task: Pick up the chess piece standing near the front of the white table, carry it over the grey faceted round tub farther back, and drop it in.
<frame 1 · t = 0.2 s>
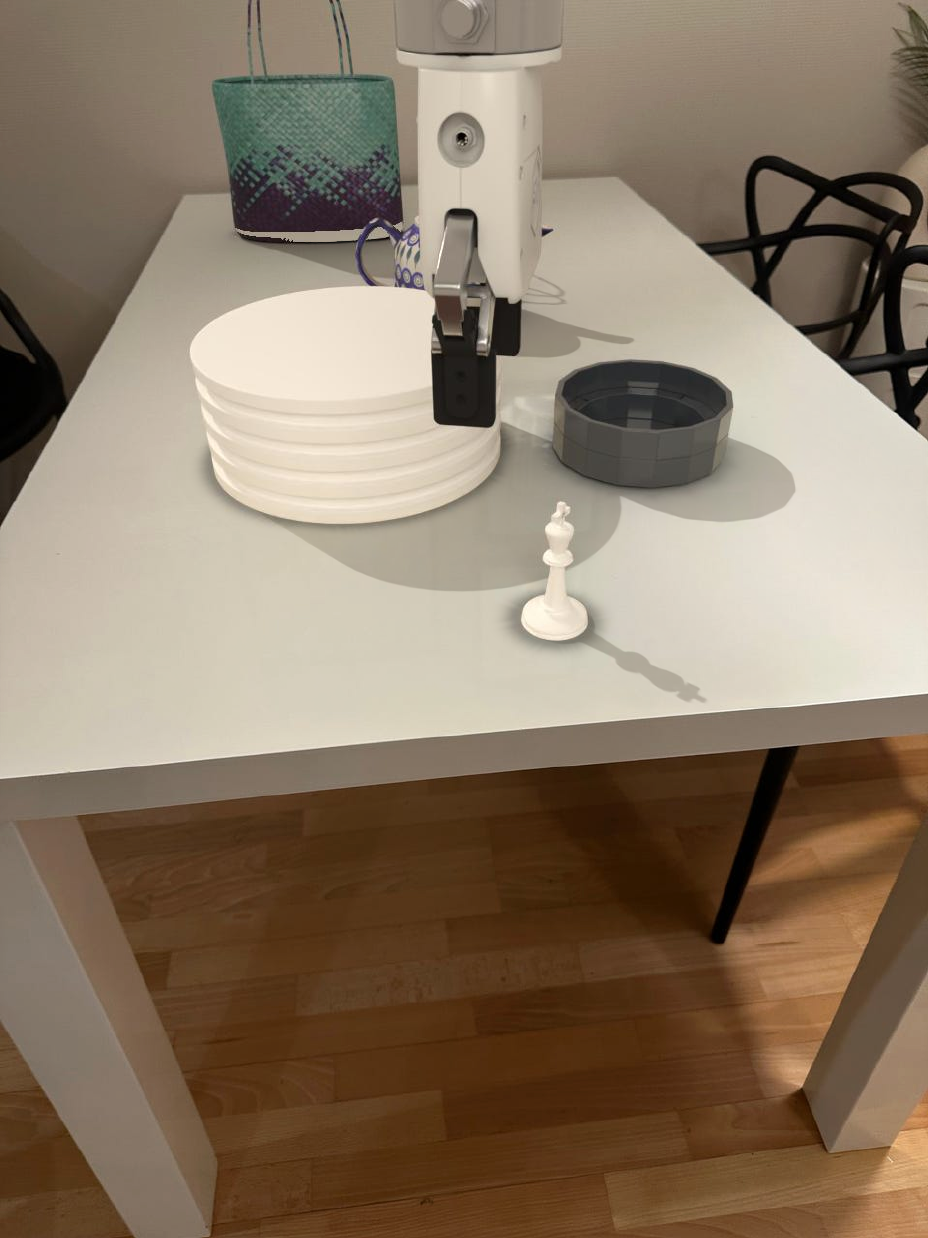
hand: (480, 385, 50), 20 cm above the table, tool pointing down, fingers open, 9 cm apart
basket: (320, 235, 150), on the table
plate stack: (358, 451, 88), on the table
teapot: (454, 316, 118), on the table
grey faceted round tub: (636, 450, 87), on the table
chess piece: (554, 622, 66), on the table
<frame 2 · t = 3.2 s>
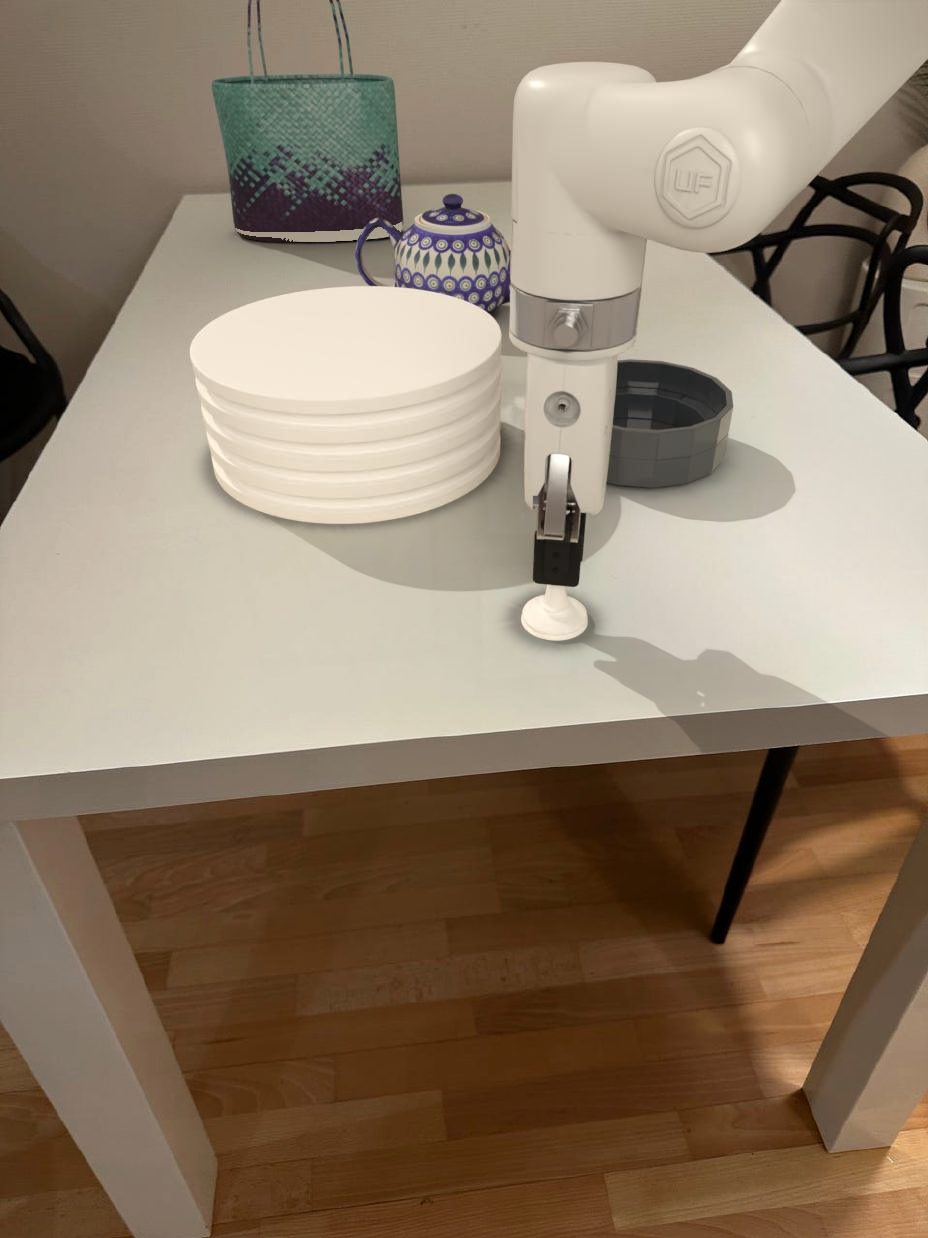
hand: (558, 569, 63), 5 cm above the table, tool pointing down, fingers closed on chess piece
chess piece: (554, 622, 66), on the table, touching gripper
everything else where it was.
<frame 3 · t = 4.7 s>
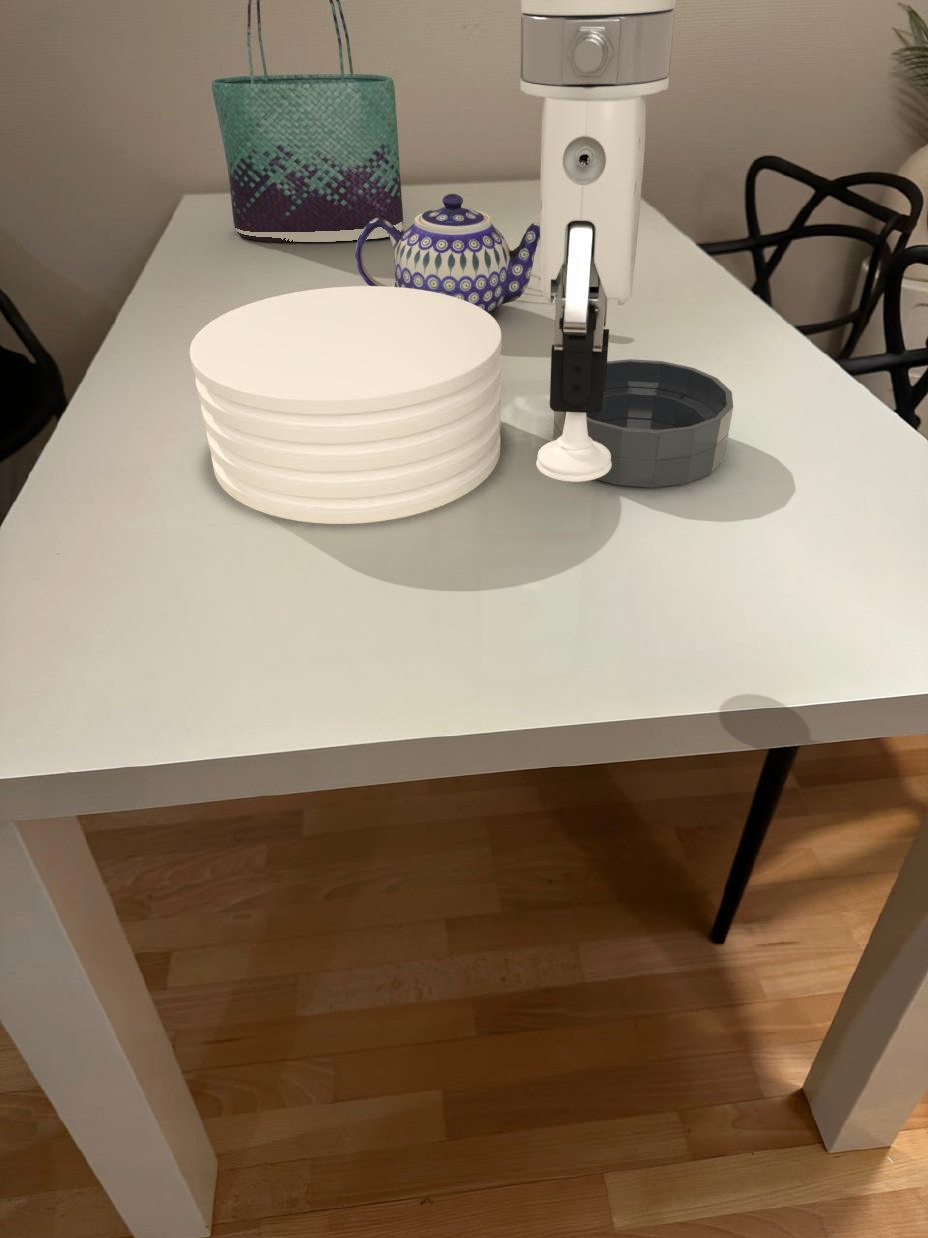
hand: (577, 398, 56), 17 cm above the table, tool pointing down, fingers closed on chess piece
chess piece: (573, 466, 59), point 12 cm above the table, touching gripper
everything else where it was.
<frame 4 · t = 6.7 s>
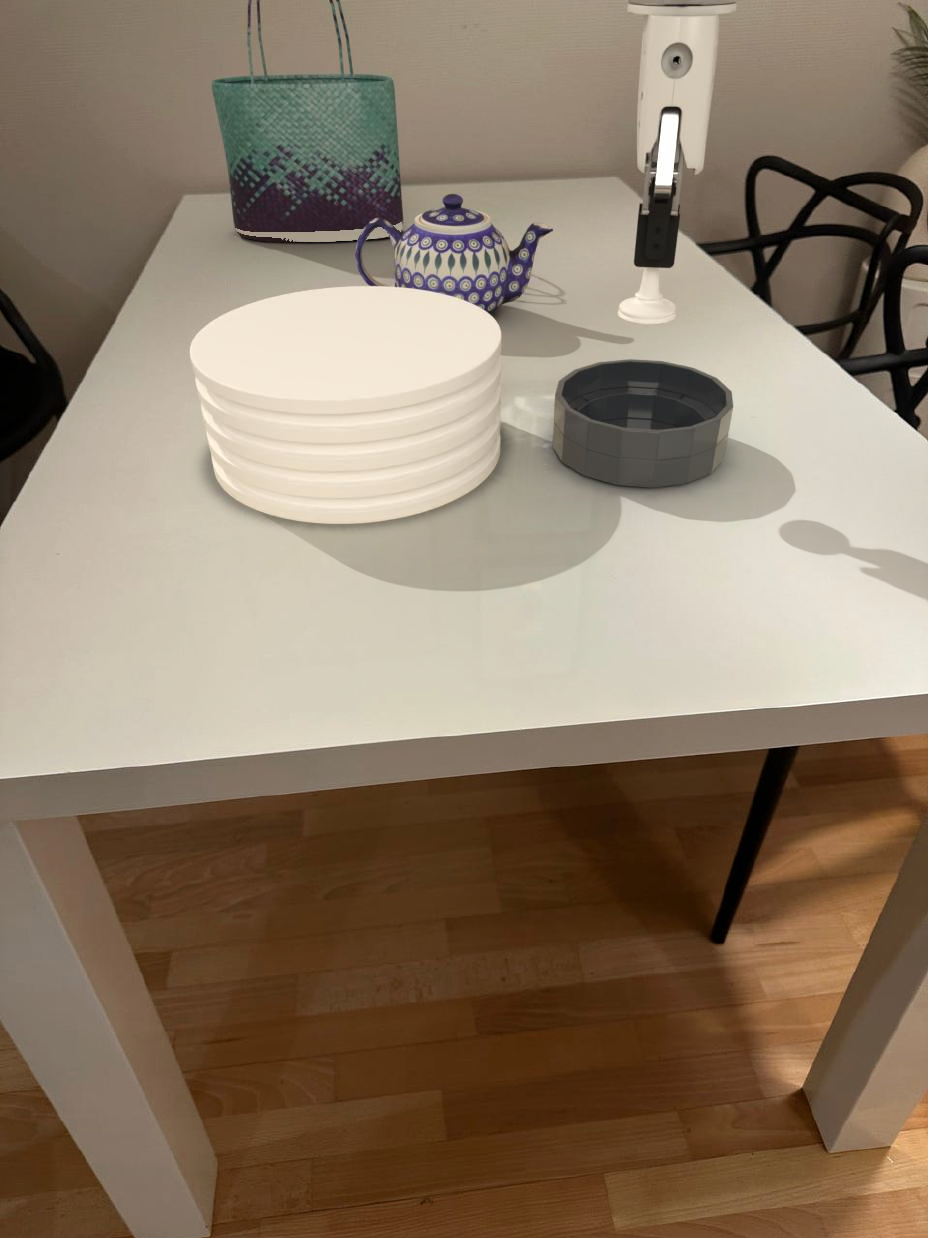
hand: (653, 259, 73), 19 cm above the table, tool pointing down, fingers closed on chess piece
chess piece: (646, 316, 76), point 14 cm above the table, touching gripper
everything else where it was.
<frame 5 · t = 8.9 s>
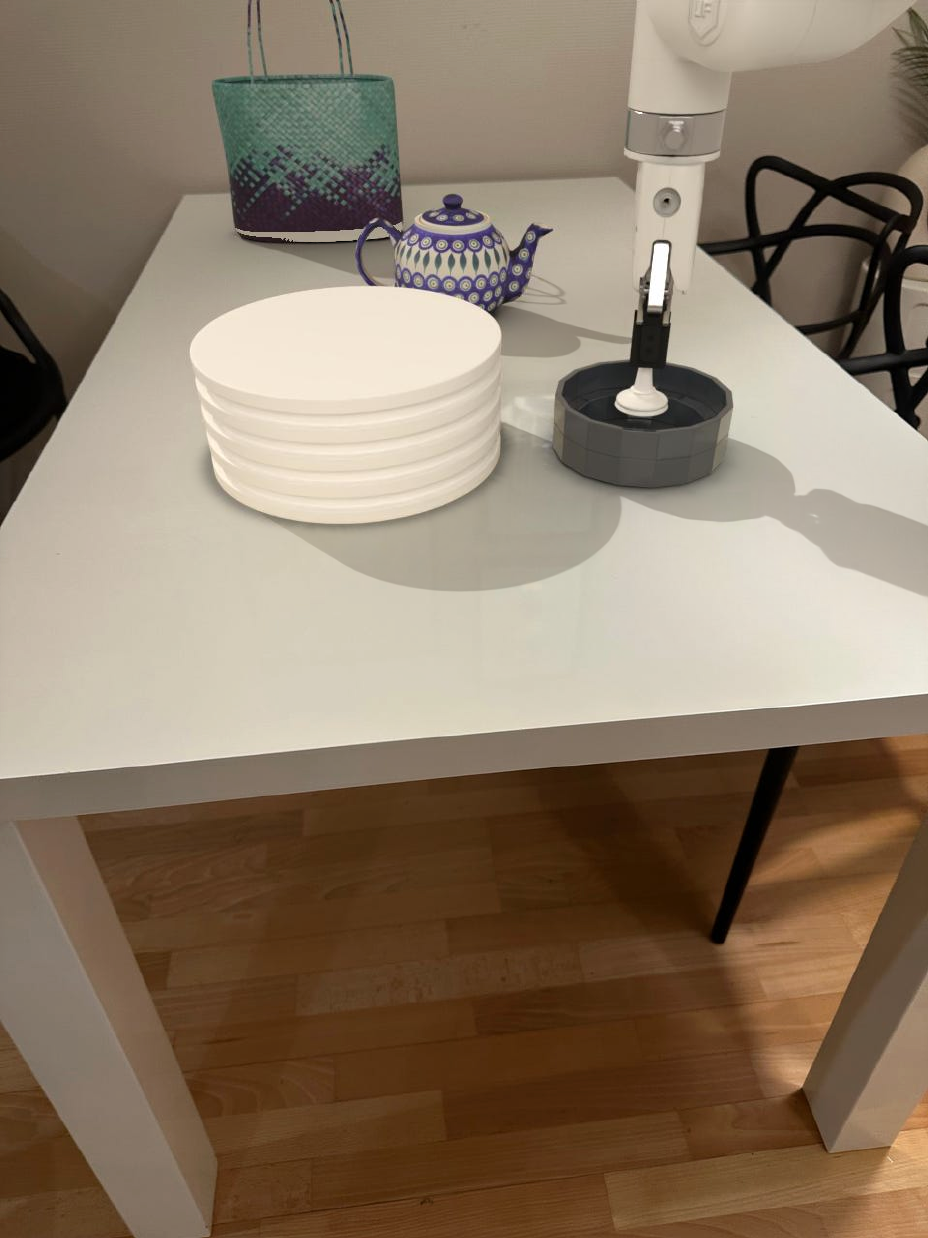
hand: (647, 358, 81), 9 cm above the table, tool pointing down, fingers closed on chess piece
chess piece: (641, 407, 84), point 5 cm above the table, touching gripper
everything else where it was.
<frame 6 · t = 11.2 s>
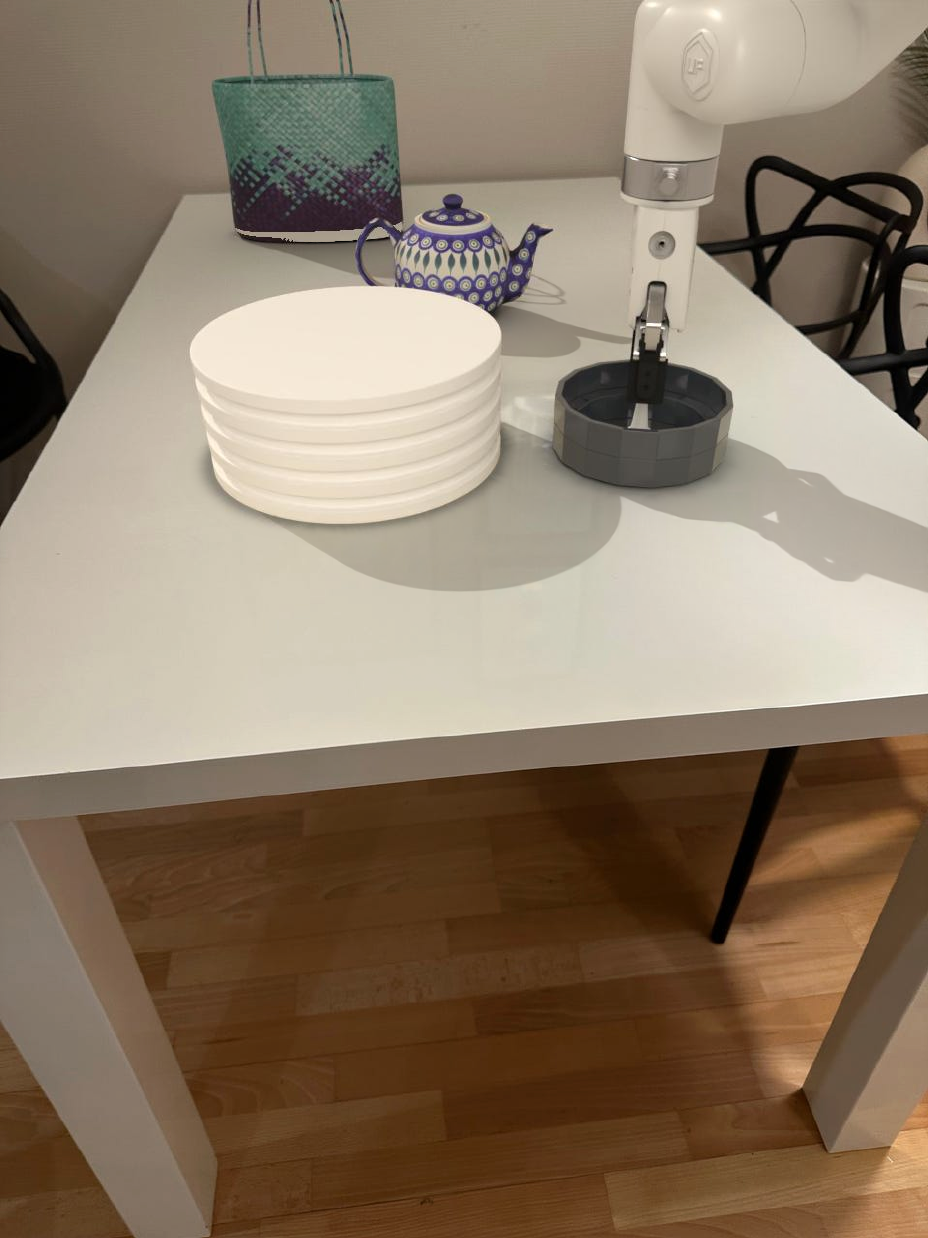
hand: (645, 380, 83), 7 cm above the table, tool pointing down, fingers open, 9 cm apart
chess piece: (636, 447, 87), resting on grey faceted round tub
everything else where it was.
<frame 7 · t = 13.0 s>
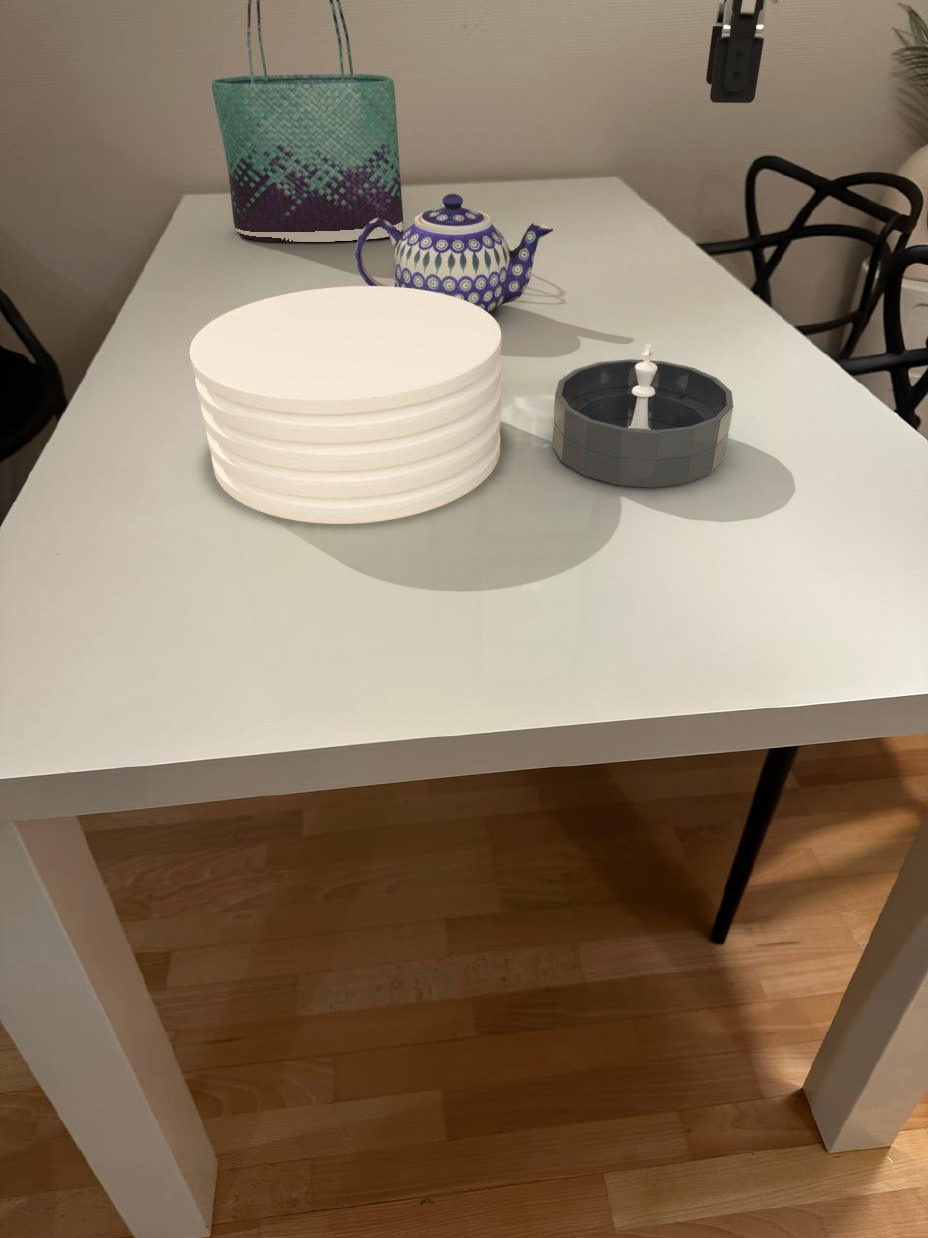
hand: (728, 92, 70), 30 cm above the table, tool pointing down, fingers open, 9 cm apart
nothing on the table moved.
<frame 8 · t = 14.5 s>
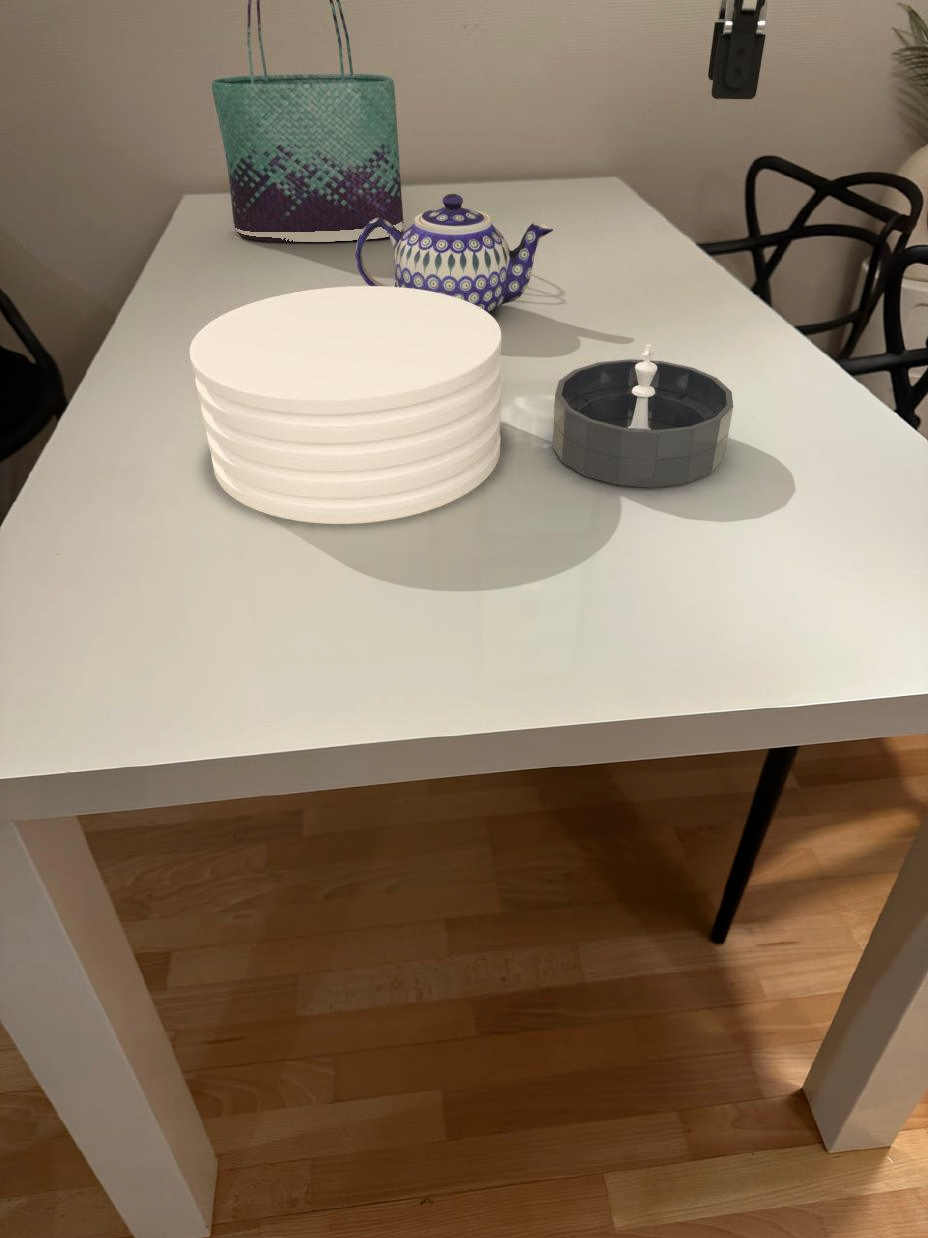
hand: (729, 88, 70), 30 cm above the table, tool pointing down, fingers open, 9 cm apart
nothing on the table moved.
at the end: chess piece inside the target area in the grey faceted round tub (0.1 cm from its centre), point 0.4 cm above the grey faceted round tub's base; the gripper is holding nothing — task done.
